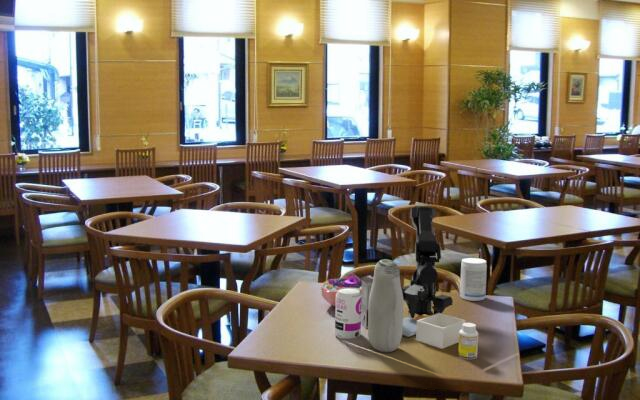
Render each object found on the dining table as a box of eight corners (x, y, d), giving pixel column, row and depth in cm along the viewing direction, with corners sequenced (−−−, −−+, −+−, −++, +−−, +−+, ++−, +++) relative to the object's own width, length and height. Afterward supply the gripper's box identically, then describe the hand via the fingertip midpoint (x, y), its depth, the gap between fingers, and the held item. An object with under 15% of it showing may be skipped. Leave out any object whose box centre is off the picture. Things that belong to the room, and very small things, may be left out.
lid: (382, 333, 235) (382, 324, 235) (415, 319, 247) (415, 311, 247) (408, 341, 228) (408, 332, 227) (440, 327, 240) (440, 318, 240)
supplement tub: (490, 299, 274) (492, 261, 272) (472, 303, 269) (474, 264, 266) (472, 293, 282) (474, 256, 279) (454, 296, 277) (456, 259, 274)
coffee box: (385, 321, 246) (387, 275, 243) (391, 327, 239) (393, 280, 237) (359, 322, 243) (361, 276, 241) (365, 329, 237) (367, 281, 235)
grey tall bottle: (407, 352, 217) (411, 262, 213) (380, 358, 212) (383, 266, 207) (387, 342, 225) (390, 255, 221) (361, 348, 220) (363, 258, 215)
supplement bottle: (463, 352, 218) (465, 320, 216) (480, 357, 214) (482, 324, 213) (454, 357, 213) (456, 324, 212) (471, 362, 210) (473, 329, 208)
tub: (415, 342, 226) (416, 320, 225) (438, 333, 235) (439, 312, 233) (442, 350, 219) (443, 328, 218) (464, 341, 228) (465, 320, 227)
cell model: (309, 305, 262) (310, 275, 260) (350, 296, 274) (351, 267, 273) (341, 317, 249) (341, 285, 247) (382, 307, 262) (383, 276, 260)
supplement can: (363, 333, 233) (364, 288, 230) (356, 342, 225) (357, 295, 223) (339, 330, 235) (340, 286, 233) (331, 338, 228) (332, 292, 225)
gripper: (388, 274, 240) (386, 319, 243) (434, 286, 227) (432, 333, 230) (409, 269, 248) (407, 312, 250) (454, 280, 235) (452, 326, 237)
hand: (423, 321), depth 242 cm, fingers open, 9 cm apart
